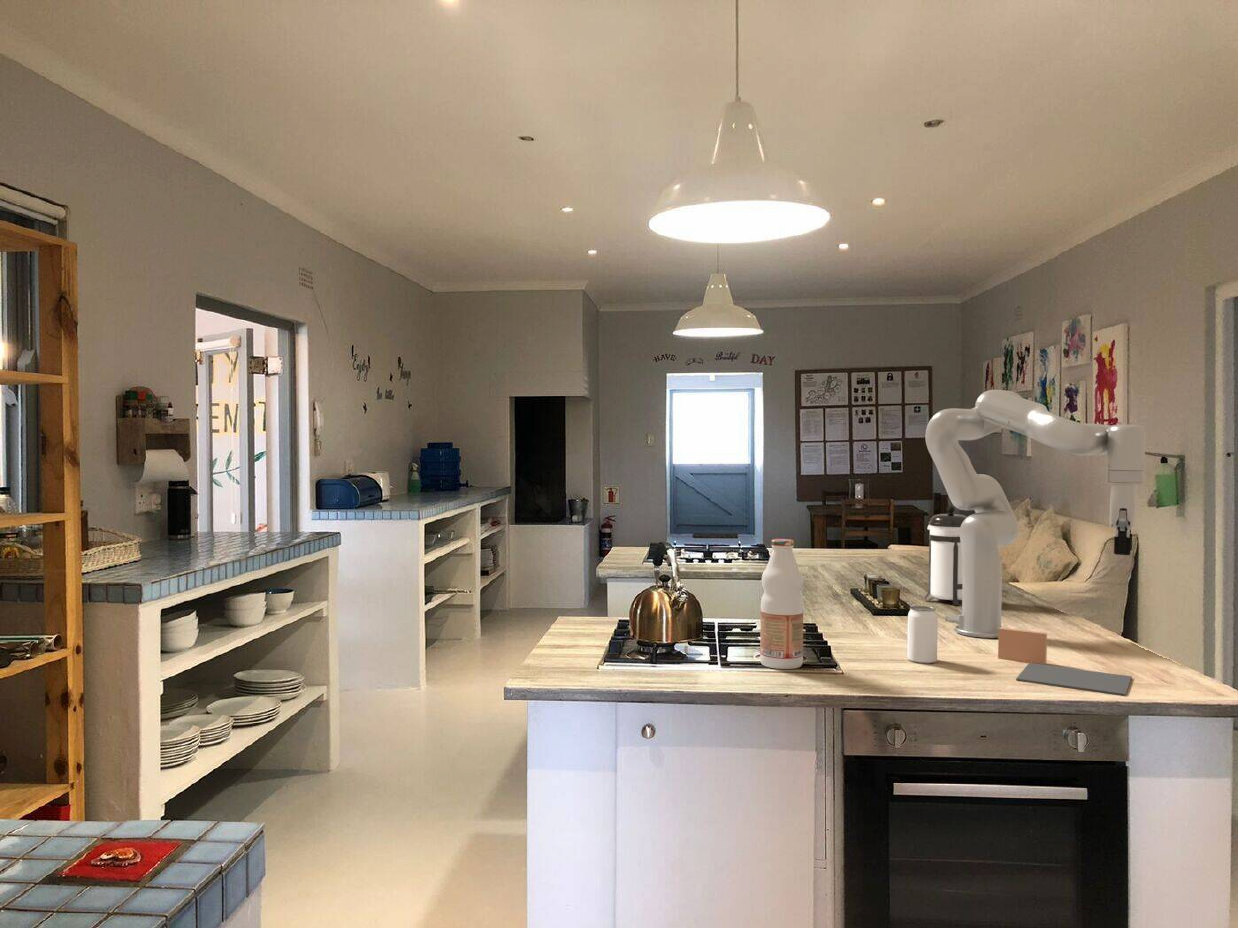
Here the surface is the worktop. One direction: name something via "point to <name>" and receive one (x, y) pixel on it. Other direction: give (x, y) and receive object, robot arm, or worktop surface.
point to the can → (922, 634)
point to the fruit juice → (782, 609)
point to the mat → (1075, 679)
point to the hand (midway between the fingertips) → (1122, 552)
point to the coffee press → (945, 557)
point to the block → (1022, 645)
